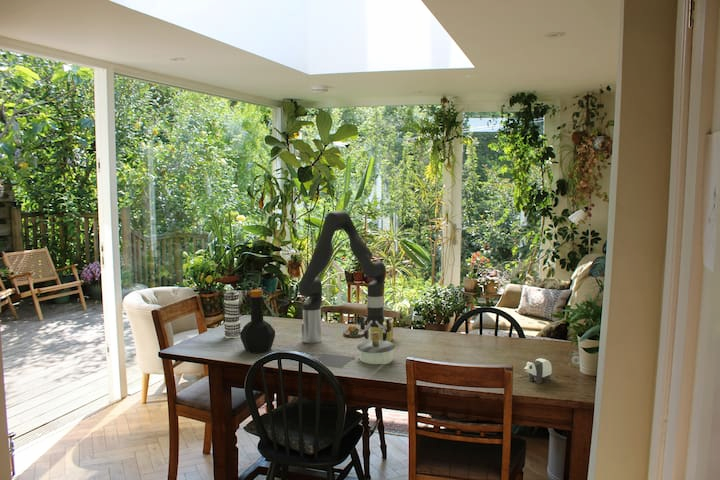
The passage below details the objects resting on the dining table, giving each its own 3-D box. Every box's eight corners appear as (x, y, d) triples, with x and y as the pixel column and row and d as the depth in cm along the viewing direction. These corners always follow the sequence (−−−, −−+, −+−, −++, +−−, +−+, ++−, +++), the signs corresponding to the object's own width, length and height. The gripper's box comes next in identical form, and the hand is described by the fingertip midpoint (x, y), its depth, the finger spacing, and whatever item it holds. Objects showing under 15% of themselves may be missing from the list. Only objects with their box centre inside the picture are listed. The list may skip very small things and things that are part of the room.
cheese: (390, 344, 289) (390, 325, 287) (369, 343, 291) (369, 324, 290) (393, 338, 299) (393, 320, 298) (373, 337, 301) (373, 319, 300)
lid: (351, 350, 259) (351, 335, 258) (365, 340, 274) (365, 326, 274) (386, 354, 252) (386, 339, 252) (398, 344, 268) (398, 329, 267)
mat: (309, 365, 258) (309, 363, 258) (324, 354, 273) (324, 353, 273) (341, 369, 252) (341, 367, 252) (355, 358, 267) (355, 357, 267)
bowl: (355, 363, 260) (355, 350, 259) (367, 353, 273) (366, 341, 273) (385, 366, 255) (385, 353, 254) (396, 356, 268) (395, 344, 267)
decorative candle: (222, 335, 310) (220, 290, 307) (239, 333, 314) (237, 288, 311) (226, 339, 302) (224, 293, 299) (243, 337, 305) (241, 291, 303)
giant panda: (541, 375, 240) (542, 353, 238) (553, 379, 235) (553, 357, 234) (519, 383, 231) (519, 360, 230) (530, 387, 227) (530, 364, 226)
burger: (367, 337, 303) (367, 323, 302) (346, 339, 300) (346, 325, 299) (361, 331, 314) (361, 318, 314) (340, 333, 311) (340, 320, 310)
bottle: (258, 343, 294) (256, 286, 291) (281, 348, 285) (279, 289, 282) (234, 351, 281) (232, 291, 278) (258, 356, 272) (256, 294, 269)
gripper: (357, 305, 260) (358, 340, 262) (387, 308, 255) (387, 343, 257) (363, 302, 267) (364, 336, 269) (392, 304, 262) (393, 338, 264)
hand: (375, 339), depth 263 cm, fingers open, 8 cm apart
